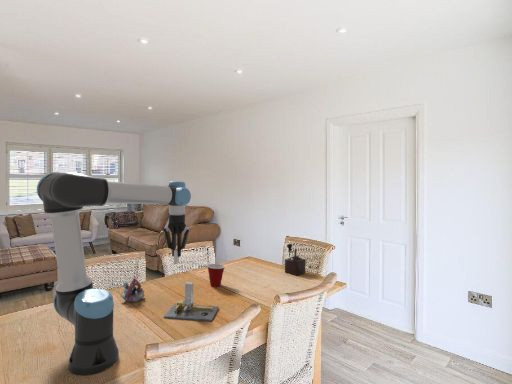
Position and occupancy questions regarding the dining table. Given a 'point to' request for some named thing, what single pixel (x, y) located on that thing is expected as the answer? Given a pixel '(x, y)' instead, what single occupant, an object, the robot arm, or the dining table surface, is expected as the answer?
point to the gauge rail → (181, 306)
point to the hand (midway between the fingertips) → (176, 263)
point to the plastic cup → (215, 274)
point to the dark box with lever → (294, 264)
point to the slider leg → (188, 296)
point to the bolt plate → (192, 314)
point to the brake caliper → (132, 291)
